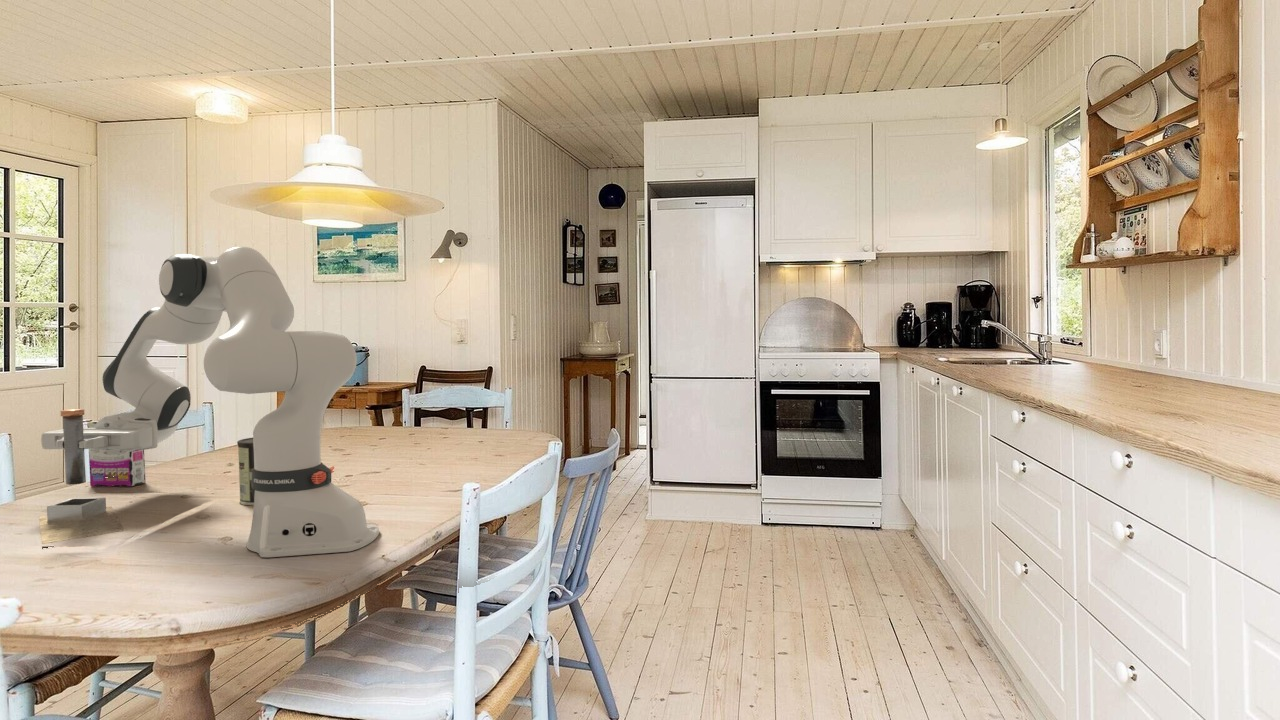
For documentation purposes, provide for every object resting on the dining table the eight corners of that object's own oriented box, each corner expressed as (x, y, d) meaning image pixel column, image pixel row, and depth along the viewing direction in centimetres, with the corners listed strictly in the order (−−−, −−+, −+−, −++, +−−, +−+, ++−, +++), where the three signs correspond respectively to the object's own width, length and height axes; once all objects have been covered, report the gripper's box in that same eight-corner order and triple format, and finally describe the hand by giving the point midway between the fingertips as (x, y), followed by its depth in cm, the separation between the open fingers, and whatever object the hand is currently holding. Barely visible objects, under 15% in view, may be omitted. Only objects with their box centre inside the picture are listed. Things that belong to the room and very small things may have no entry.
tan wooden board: (124, 535, 136) (123, 530, 136) (42, 549, 128) (41, 543, 128) (111, 510, 154) (111, 506, 154) (39, 521, 146) (39, 516, 146)
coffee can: (299, 495, 167) (298, 436, 166) (268, 507, 157) (266, 443, 156) (261, 493, 169) (259, 435, 168) (228, 504, 159) (226, 442, 158)
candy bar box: (147, 482, 181) (144, 418, 181) (132, 487, 176) (129, 421, 176) (105, 482, 182) (102, 418, 181) (89, 486, 177) (85, 421, 176)
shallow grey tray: (106, 511, 150) (105, 497, 150) (82, 520, 143) (81, 505, 143) (73, 512, 149) (72, 497, 149) (47, 521, 143) (46, 506, 143)
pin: (92, 480, 148) (88, 409, 147) (78, 484, 144) (74, 411, 143) (73, 480, 148) (70, 409, 147) (59, 485, 144) (55, 411, 143)
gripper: (69, 420, 158) (17, 429, 144) (163, 419, 159) (120, 429, 145) (70, 448, 158) (18, 460, 144) (164, 447, 159) (122, 459, 145)
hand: (70, 444), depth 145 cm, fingers closed on pin, 3 cm apart
